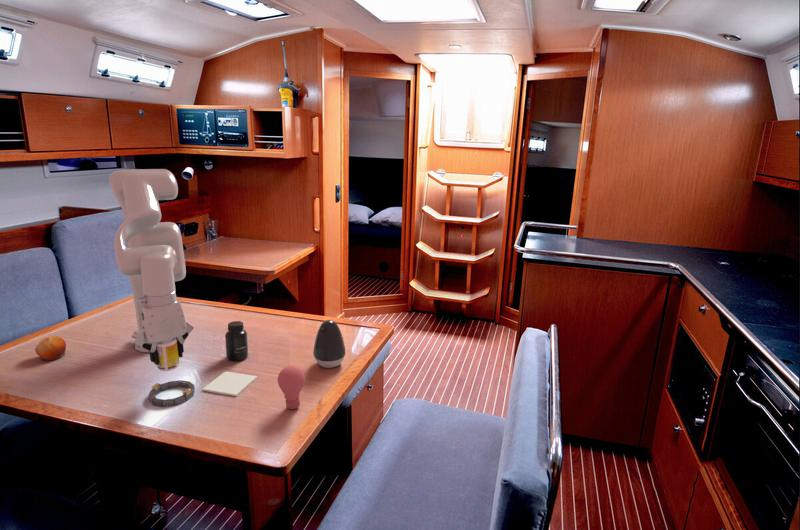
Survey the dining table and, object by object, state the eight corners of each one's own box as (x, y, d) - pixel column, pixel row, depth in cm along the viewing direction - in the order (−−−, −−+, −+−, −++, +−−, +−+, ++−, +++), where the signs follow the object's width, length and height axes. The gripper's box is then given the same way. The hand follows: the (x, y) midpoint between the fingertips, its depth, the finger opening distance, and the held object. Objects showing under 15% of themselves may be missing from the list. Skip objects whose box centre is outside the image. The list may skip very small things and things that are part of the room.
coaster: (202, 390, 134) (202, 388, 134) (225, 373, 145) (225, 371, 145) (236, 396, 132) (236, 394, 132) (257, 378, 142) (257, 376, 142)
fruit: (76, 351, 154) (57, 335, 149) (53, 369, 150) (34, 354, 145) (70, 343, 159) (51, 328, 154) (48, 361, 155) (28, 346, 150)
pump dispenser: (307, 368, 149) (305, 324, 145) (323, 355, 158) (322, 312, 154) (336, 374, 145) (335, 329, 141) (350, 360, 155) (350, 317, 151)
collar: (139, 403, 128) (138, 395, 127) (169, 382, 138) (168, 375, 138) (175, 409, 125) (174, 401, 124) (202, 388, 136) (202, 380, 135)
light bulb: (281, 400, 130) (279, 361, 127) (307, 399, 131) (305, 360, 128) (277, 415, 124) (274, 374, 120) (304, 414, 124) (302, 373, 121)
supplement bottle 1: (182, 361, 133) (178, 328, 130) (176, 371, 128) (172, 337, 125) (161, 362, 132) (157, 329, 129) (154, 372, 127) (150, 338, 124)
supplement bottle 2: (241, 363, 151) (239, 328, 148) (222, 360, 152) (219, 326, 149) (252, 353, 158) (250, 320, 155) (233, 351, 159) (231, 318, 156)
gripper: (129, 310, 116) (138, 375, 121) (198, 294, 128) (204, 354, 133) (120, 301, 121) (129, 364, 126) (187, 287, 133) (193, 345, 138)
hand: (167, 358), depth 129 cm, fingers closed on supplement bottle 1, 5 cm apart
